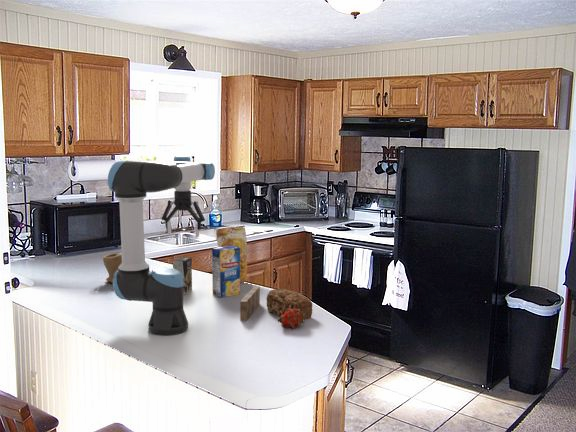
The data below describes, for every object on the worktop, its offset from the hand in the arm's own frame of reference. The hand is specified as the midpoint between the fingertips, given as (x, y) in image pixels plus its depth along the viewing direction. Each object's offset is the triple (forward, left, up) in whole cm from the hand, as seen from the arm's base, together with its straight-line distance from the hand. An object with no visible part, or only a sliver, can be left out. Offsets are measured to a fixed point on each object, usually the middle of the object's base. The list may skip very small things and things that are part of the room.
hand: (183, 236), depth 285 cm
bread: (-20, -54, -28) cm, 64 cm away
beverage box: (+5, -19, -28) cm, 34 cm away
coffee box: (+4, +2, -28) cm, 28 cm away
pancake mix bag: (+27, -16, -28) cm, 42 cm away
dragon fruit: (-36, -57, -28) cm, 73 cm away
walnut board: (-20, -37, -28) cm, 50 cm away
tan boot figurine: (+13, +39, -28) cm, 50 cm away
